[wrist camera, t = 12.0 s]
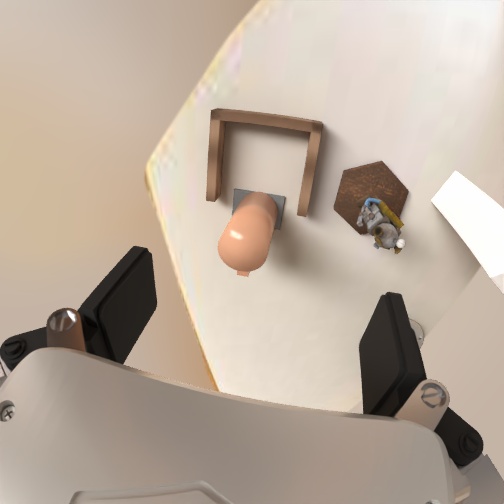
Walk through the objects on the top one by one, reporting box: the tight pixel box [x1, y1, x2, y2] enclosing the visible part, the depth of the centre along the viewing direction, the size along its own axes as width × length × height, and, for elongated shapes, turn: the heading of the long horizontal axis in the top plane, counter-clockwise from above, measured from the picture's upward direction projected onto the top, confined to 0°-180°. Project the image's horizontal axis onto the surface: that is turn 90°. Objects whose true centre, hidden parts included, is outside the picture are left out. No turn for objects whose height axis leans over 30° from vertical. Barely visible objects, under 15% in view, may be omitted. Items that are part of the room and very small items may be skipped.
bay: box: [206, 108, 323, 217], centre depth 38 cm, size 12×13×3 cm
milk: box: [431, 171, 504, 294], centre depth 27 cm, size 6×6×22 cm
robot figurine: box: [334, 161, 409, 254], centre depth 34 cm, size 11×9×12 cm
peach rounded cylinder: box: [218, 192, 278, 277], centre depth 39 cm, size 6×8×11 cm
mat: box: [232, 189, 285, 230], centre depth 43 cm, size 5×7×1 cm
